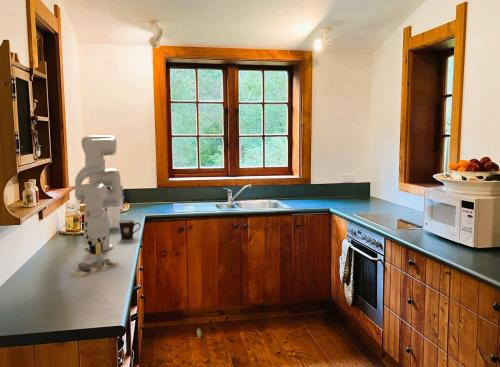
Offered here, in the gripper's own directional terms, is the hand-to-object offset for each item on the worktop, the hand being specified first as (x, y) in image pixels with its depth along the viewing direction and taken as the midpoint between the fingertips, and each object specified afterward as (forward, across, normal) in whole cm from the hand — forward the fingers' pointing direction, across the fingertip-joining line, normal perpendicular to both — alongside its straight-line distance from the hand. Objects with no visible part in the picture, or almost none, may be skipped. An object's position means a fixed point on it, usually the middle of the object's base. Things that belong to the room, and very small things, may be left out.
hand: (96, 252), depth 208 cm
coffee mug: (+7, +48, +30) cm, 57 cm away
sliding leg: (+5, 0, -2) cm, 6 cm away
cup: (+7, +64, +60) cm, 88 cm away
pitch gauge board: (+7, -2, -2) cm, 8 cm away
